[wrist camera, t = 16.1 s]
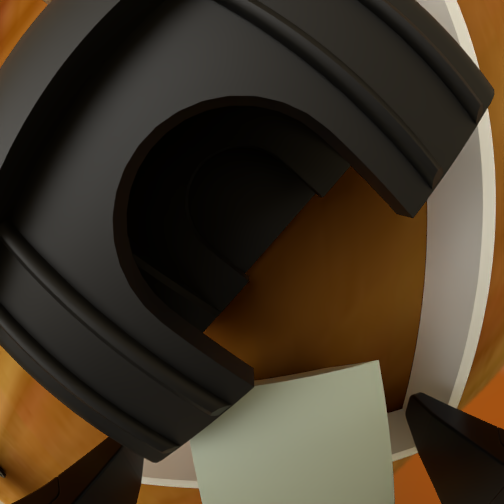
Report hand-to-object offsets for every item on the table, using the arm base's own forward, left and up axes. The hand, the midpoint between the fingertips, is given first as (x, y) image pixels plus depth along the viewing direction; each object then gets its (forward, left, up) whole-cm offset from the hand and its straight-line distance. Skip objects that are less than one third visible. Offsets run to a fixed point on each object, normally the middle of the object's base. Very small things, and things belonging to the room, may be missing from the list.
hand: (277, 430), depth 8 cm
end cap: (+8, +2, -3) cm, 9 cm away
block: (+2, 0, 0) cm, 2 cm away
